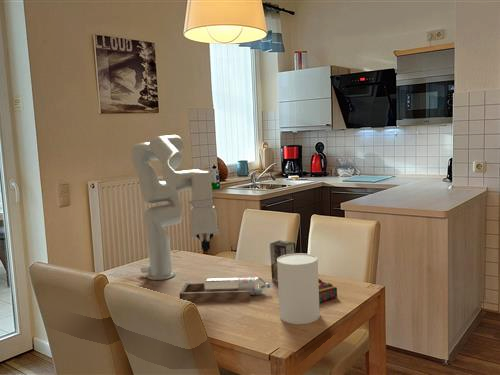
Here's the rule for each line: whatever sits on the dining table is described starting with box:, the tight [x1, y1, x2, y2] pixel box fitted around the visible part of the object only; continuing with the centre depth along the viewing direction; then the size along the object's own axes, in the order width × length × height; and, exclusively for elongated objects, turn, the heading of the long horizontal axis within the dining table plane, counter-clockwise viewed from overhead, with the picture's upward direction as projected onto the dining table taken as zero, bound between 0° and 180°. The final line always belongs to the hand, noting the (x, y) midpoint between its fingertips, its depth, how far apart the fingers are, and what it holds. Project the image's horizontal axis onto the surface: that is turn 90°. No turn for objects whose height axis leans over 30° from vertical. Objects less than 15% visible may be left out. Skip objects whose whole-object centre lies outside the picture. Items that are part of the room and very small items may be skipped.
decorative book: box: [318, 278, 338, 304], centre depth 186 cm, size 11×16×5 cm
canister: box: [277, 252, 321, 325], centre depth 167 cm, size 14×14×20 cm
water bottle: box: [203, 276, 271, 296], centre depth 192 cm, size 7×7×25 cm
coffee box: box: [269, 240, 297, 283], centre depth 205 cm, size 9×6×16 cm
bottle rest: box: [179, 282, 251, 303], centre depth 192 cm, size 27×12×4 cm, turn 86°
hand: (206, 250), depth 190 cm, fingers closed
